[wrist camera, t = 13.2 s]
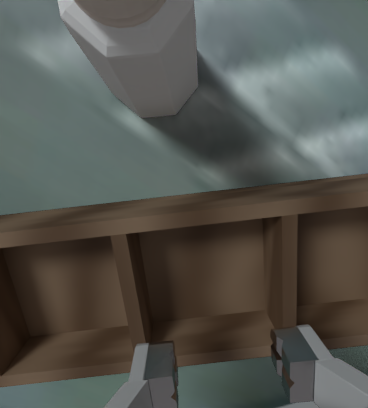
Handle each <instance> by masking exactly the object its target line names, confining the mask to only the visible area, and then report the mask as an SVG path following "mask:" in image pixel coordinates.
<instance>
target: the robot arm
mask: <svg viewBox="0 0 368 408" xmlns="http://www.w3.org/2000/svg"><path fill="white" fill-rule="evenodd" d="M270 338H271V340H272V342H273V344H272V345H271V356H272V361H273V364H274V367H275V370H276V372H277V374H278V375H280V376H281V377H282V386H283V388H284V391H285V393H286V395H287V397H288V400H289V402H290V403H296V402H308V401H314V403H315V404H316V405H317V406H318V407H319V408H368V376H367V375H366V374H364V373H362V372H361V371H359V370H357V369H356V368H354V367H352V366H351V365H349V364H347V363H346V362H344V361H342V360H341V359H339V358H334V357H333V356H332V355H331V353H330V352H329V351H328V349H327V348H326V346H325V345H324V344H323V342H322V341H321V340H320V338H319V337H318V336H317V334H316V333H315V331H314V330H313V329H312V327H311V326H310V325H308V324H307V325H299V326H292V327H284V328H276V329H271V331H270ZM177 386H178V366H177V358H176V356H175V345H174V341H173V340H172V341H160V342H150V343H140V344H137V345H136V347H135V352H134V356H133V361H132V366H131V371H130V376H129V381H128V382H125V383H124V384H123V385H122V386H121V387H120V389H119V390H118V391H117V392H116V393H115V395H114V396H113V397H112V398H111V399H110V401H109V402H108V403H107V404H106V405H105V407H104V408H178V390H177Z"/></svg>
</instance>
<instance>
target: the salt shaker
mask: <svg viewBox="0 0 368 408" xmlns="http://www.w3.org/2000/svg"><path fill="white" fill-rule="evenodd" d="M58 5H59V10H60V15H61V18H62V20H63V22H64V23H65V25H66V27H67V29H68V30H69V32H70V34H71V35H72V36H73V38H74V39H75V41H76V42H77V44H78V45H79V46H80V48H81V49H82V51H83V52H84V54H85V55H86V56H87V58H88V59H89V61H90V62H91V64H92V65H93V66H94V68H95V69H96V71H97V72H98V73H99V75H100V76H101V78H102V79H103V81H104V82H105V83H106V85H107V86H108V88H109V89H110V91H111V92H112V93H113V95H115V96H116V97H117V98H118V99H119V100H121V101H122V102H123V103H124V104H125V105H126V106H128V107H129V108H130V109H131V110H132V111H133V112H135V113H136V114H137V115H138V116H139V117H141V118H149V117H160V116H170V115H176V114H177V113H178V111H179V110H180V109H181V108H182V106H183V105H184V104H185V102H186V101H187V100H188V99H189V97H190V96H191V95H192V94H193V92H194V91H195V90H196V88H197V87H198V70H197V46H196V21H195V10H194V0H58Z"/></svg>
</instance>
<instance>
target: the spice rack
mask: <svg viewBox="0 0 368 408" xmlns="http://www.w3.org/2000/svg"><path fill="white" fill-rule="evenodd" d="M307 324H308V325H310V326H311V327H312V329H313V330H314V331H315V333H316V334H317V336H318V337H319V338H320V340H321V341H322V342H323V344H324V345H325V346H326V348H327V349H328V350H329V349H338V348H347V347H355V346H364V345H368V174H361V175H352V176H343V177H334V178H326V179H317V180H308V181H299V182H290V183H282V184H273V185H264V186H255V187H246V188H238V189H229V190H220V191H211V192H202V193H194V194H185V195H176V196H167V197H158V198H150V199H141V200H132V201H123V202H114V203H106V204H97V205H88V206H79V207H70V208H62V209H53V210H44V211H35V212H26V213H18V214H9V215H0V387H7V386H16V385H24V384H33V383H42V382H51V381H59V380H68V379H77V378H85V377H94V376H103V375H111V374H120V373H129V372H130V371H131V366H132V361H133V356H134V352H135V347H136V345H137V344H140V343H150V342H160V341H172V340H173V341H174V345H175V356H176V358H177V366H178V367H181V366H190V365H199V364H207V363H216V362H225V361H233V360H242V359H251V358H259V357H268V356H271V345H272V344H273V342H272V340H271V338H270V331H271V329H276V328H284V327H292V326H299V325H307Z"/></svg>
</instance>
